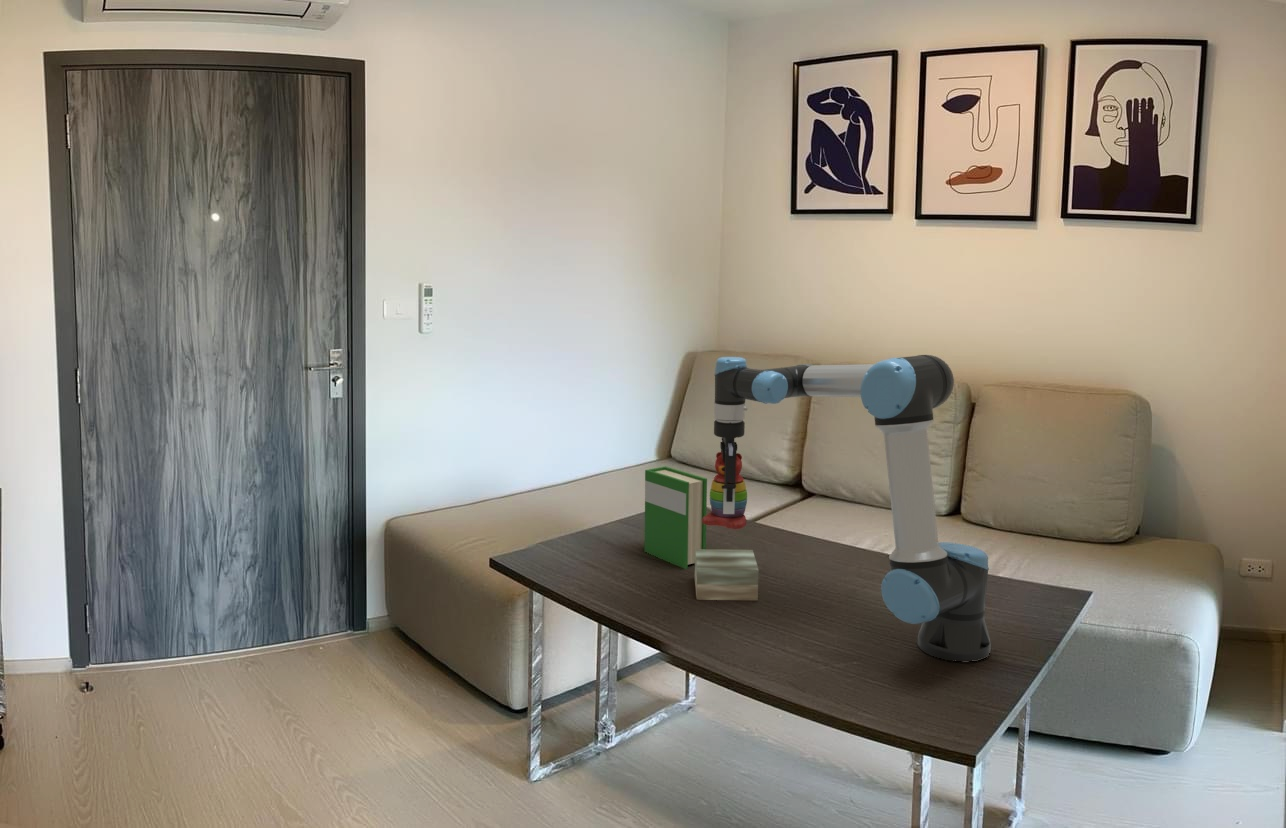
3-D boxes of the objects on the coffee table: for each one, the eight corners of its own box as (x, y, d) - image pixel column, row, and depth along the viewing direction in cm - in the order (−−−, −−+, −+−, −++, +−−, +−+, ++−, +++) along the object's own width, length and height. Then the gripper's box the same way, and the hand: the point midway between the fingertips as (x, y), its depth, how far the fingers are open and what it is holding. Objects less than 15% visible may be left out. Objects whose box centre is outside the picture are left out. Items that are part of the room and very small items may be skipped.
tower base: (757, 600, 233) (758, 569, 232) (696, 599, 233) (697, 568, 232) (751, 579, 248) (752, 549, 247) (694, 578, 248) (695, 549, 247)
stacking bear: (699, 524, 235) (700, 454, 232) (715, 514, 244) (716, 446, 241) (739, 530, 230) (741, 459, 227) (754, 520, 239) (756, 451, 236)
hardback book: (705, 563, 260) (707, 478, 256) (684, 569, 255) (686, 482, 251) (664, 547, 274) (665, 466, 269) (644, 552, 269) (645, 470, 265)
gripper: (748, 428, 222) (746, 520, 226) (740, 412, 244) (738, 496, 248) (716, 428, 222) (714, 520, 226) (711, 411, 244) (710, 496, 248)
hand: (727, 507), depth 237 cm, fingers closed on stacking bear, 9 cm apart
